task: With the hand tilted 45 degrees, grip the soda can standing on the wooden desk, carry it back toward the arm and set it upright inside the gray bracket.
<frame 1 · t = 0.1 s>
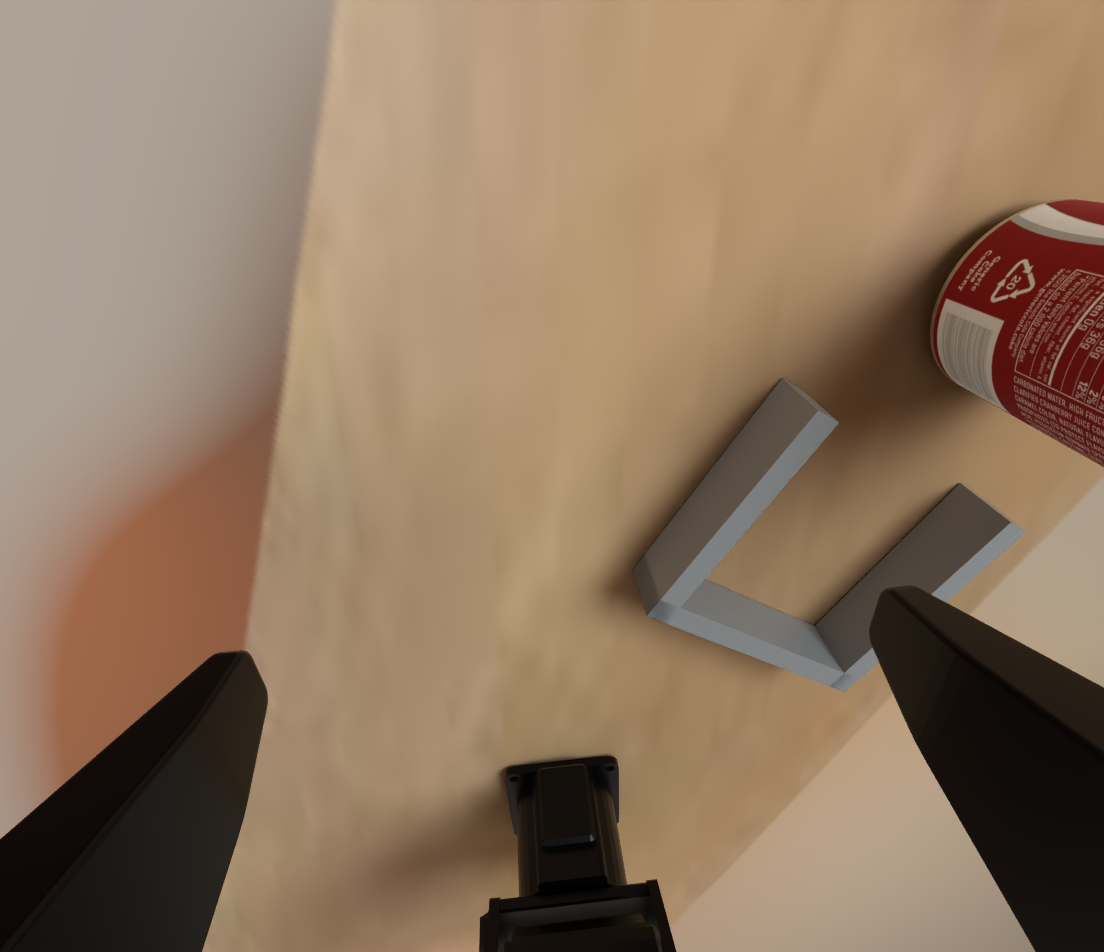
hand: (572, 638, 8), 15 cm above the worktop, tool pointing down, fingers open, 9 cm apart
gray bracket: (808, 522, 26), on the worktop
soda can: (1005, 296, 22), on the worktop
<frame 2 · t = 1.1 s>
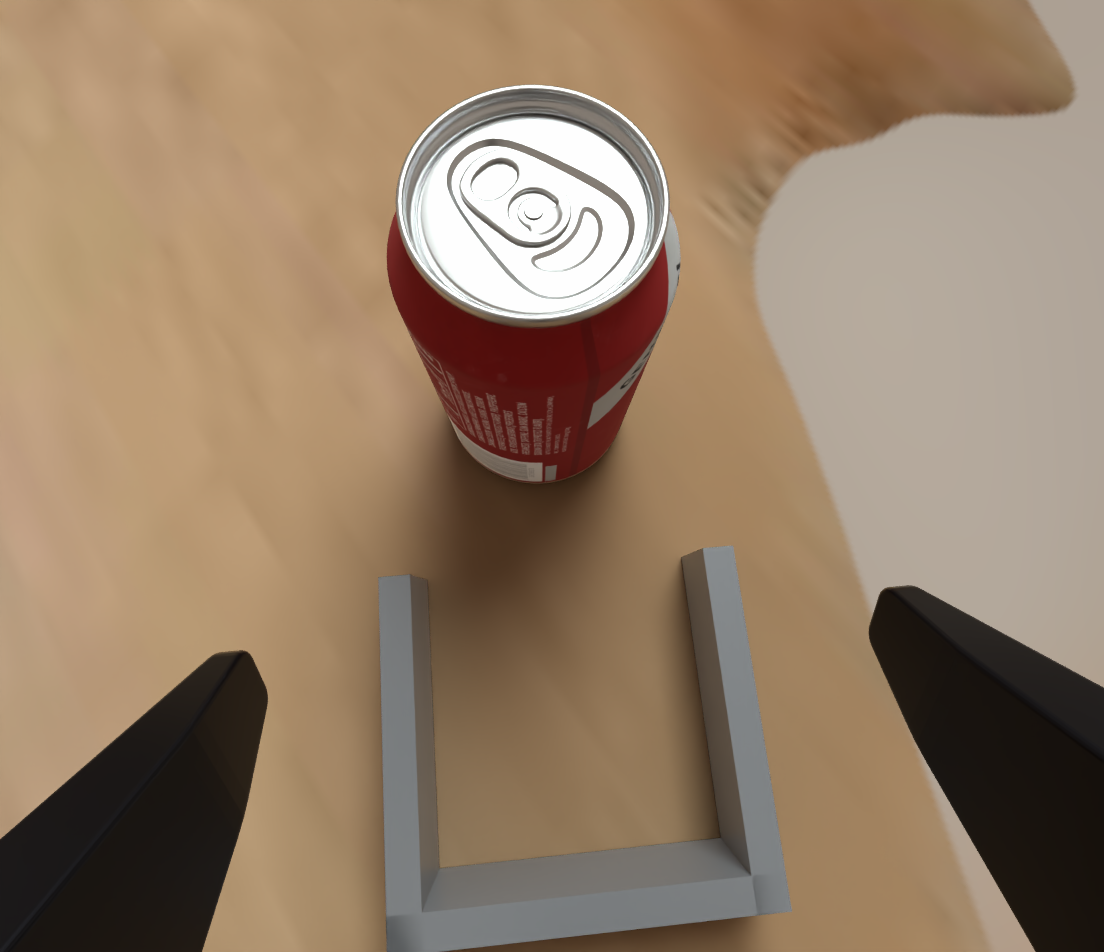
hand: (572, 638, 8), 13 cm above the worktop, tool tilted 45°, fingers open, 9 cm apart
gray bracket: (567, 703, 21), on the worktop
soda can: (537, 406, 24), on the worktop
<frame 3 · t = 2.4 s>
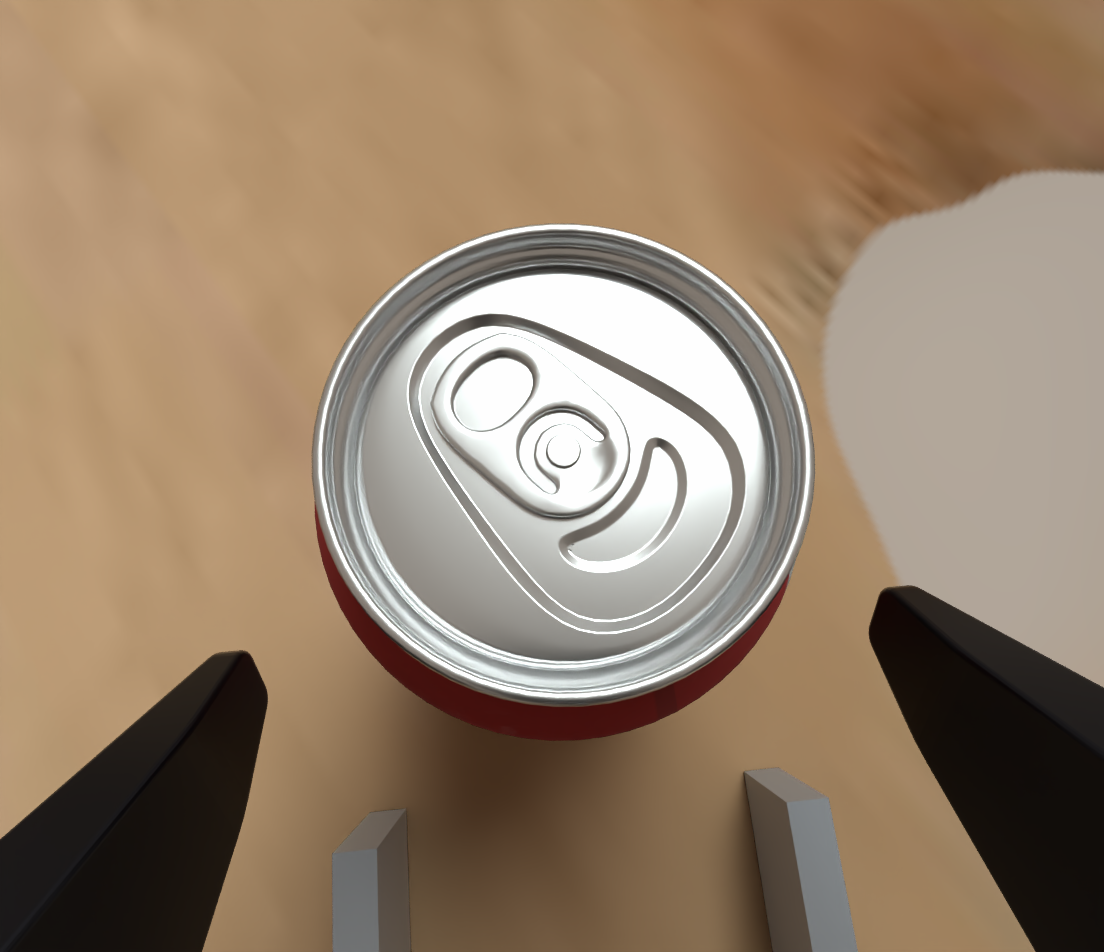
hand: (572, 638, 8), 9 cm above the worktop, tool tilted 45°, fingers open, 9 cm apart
soda can: (549, 559, 18), on the worktop
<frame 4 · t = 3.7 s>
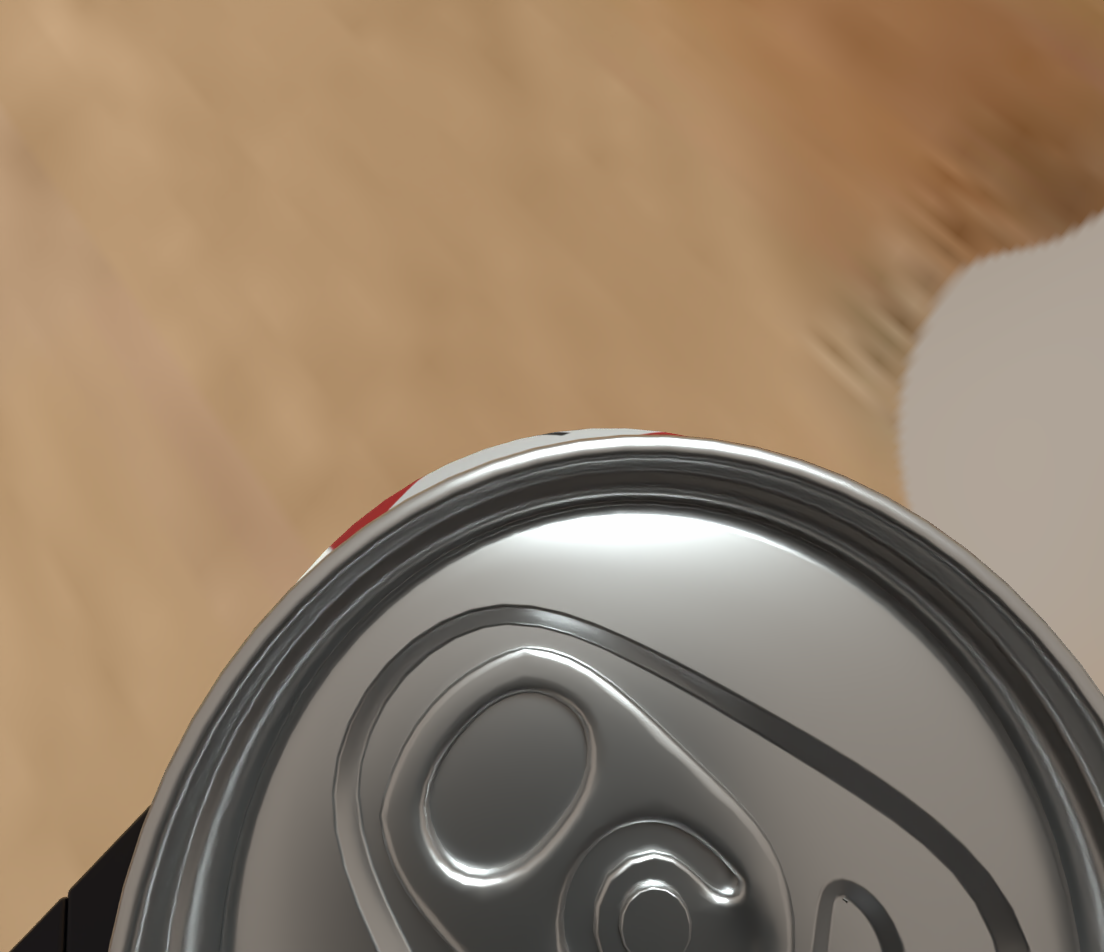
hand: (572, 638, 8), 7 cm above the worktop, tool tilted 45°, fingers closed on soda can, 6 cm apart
soda can: (566, 687, 15), on the worktop, touching gripper
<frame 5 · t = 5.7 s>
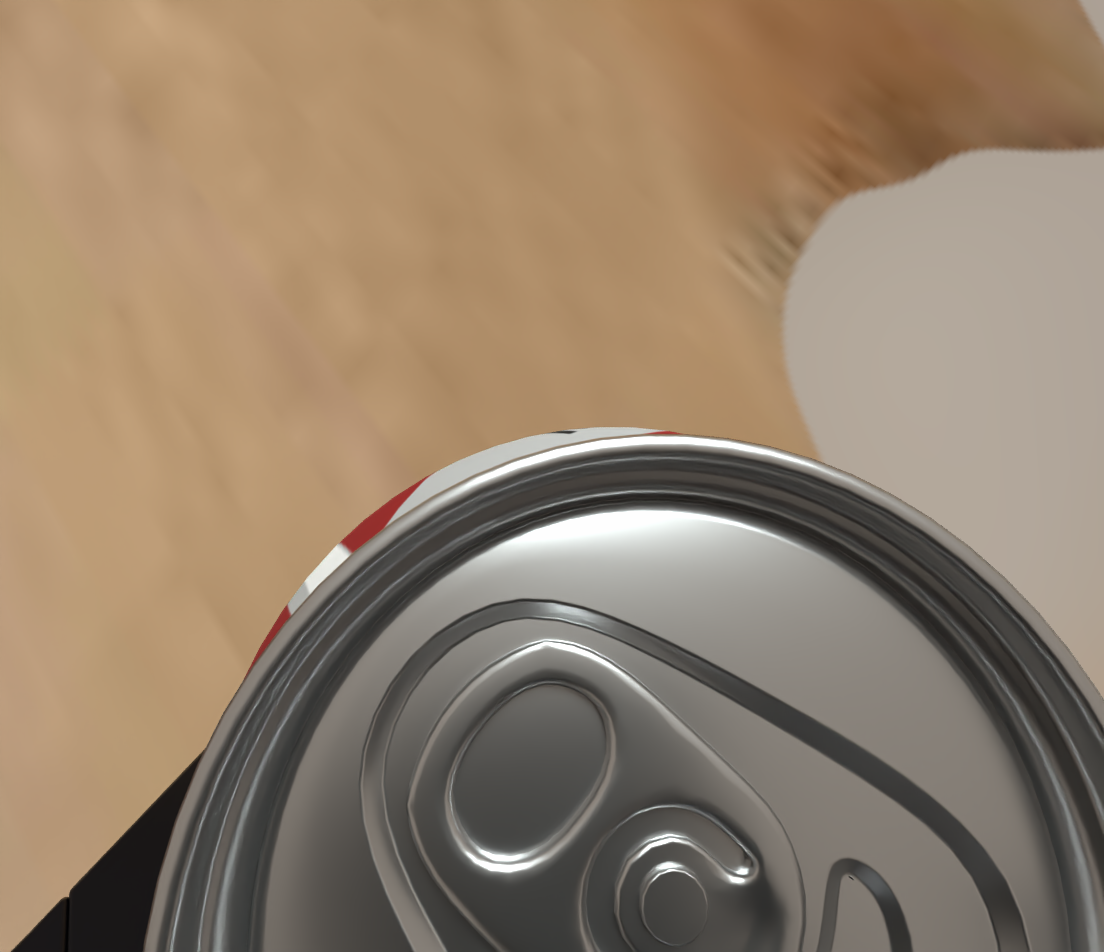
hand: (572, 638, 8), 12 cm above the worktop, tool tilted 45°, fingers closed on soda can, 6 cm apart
soda can: (553, 683, 15), point 5 cm above the worktop, touching gripper
when the fingers open (8 cm above the worktop, at t = 7.8 s): soda can drops 1 cm, on the worktop.
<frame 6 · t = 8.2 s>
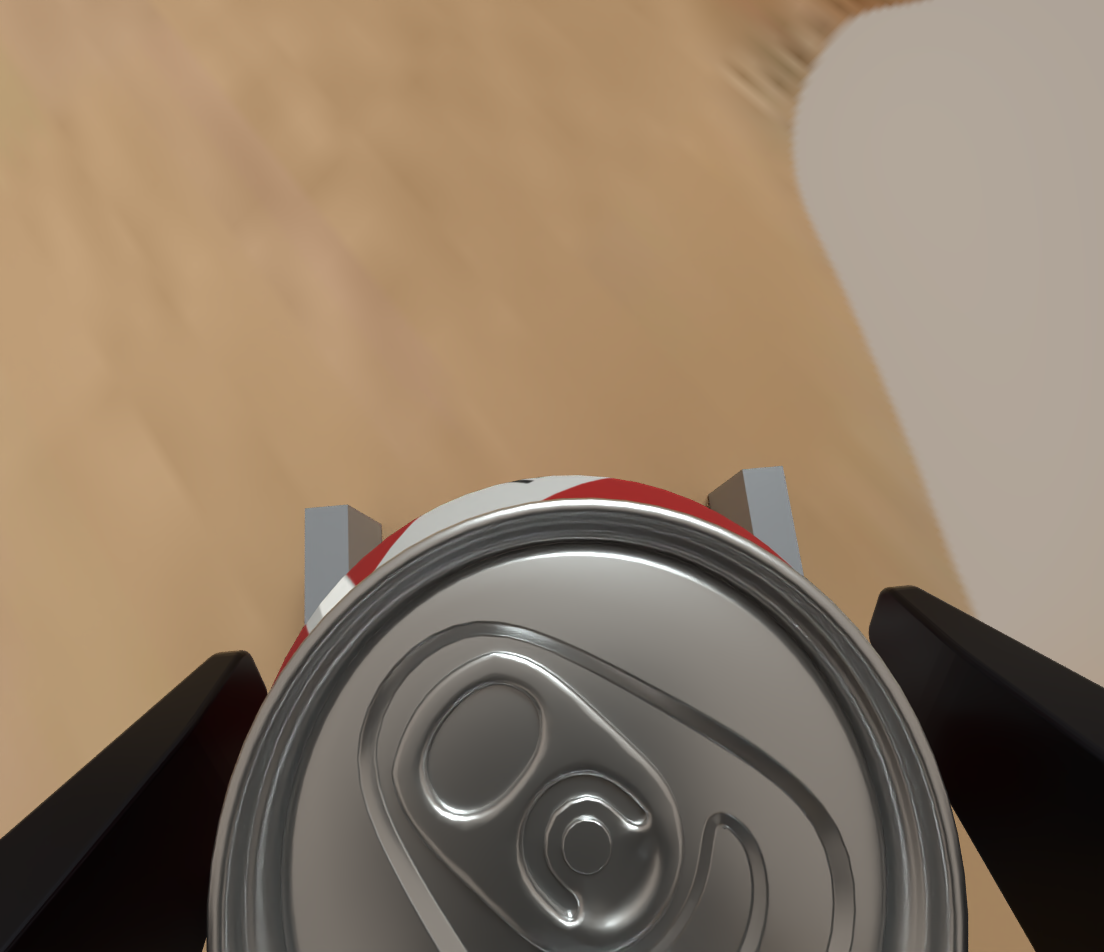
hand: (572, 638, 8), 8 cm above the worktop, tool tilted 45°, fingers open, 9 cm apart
gray bracket: (562, 681, 16), on the worktop
soda can: (553, 684, 16), on the worktop
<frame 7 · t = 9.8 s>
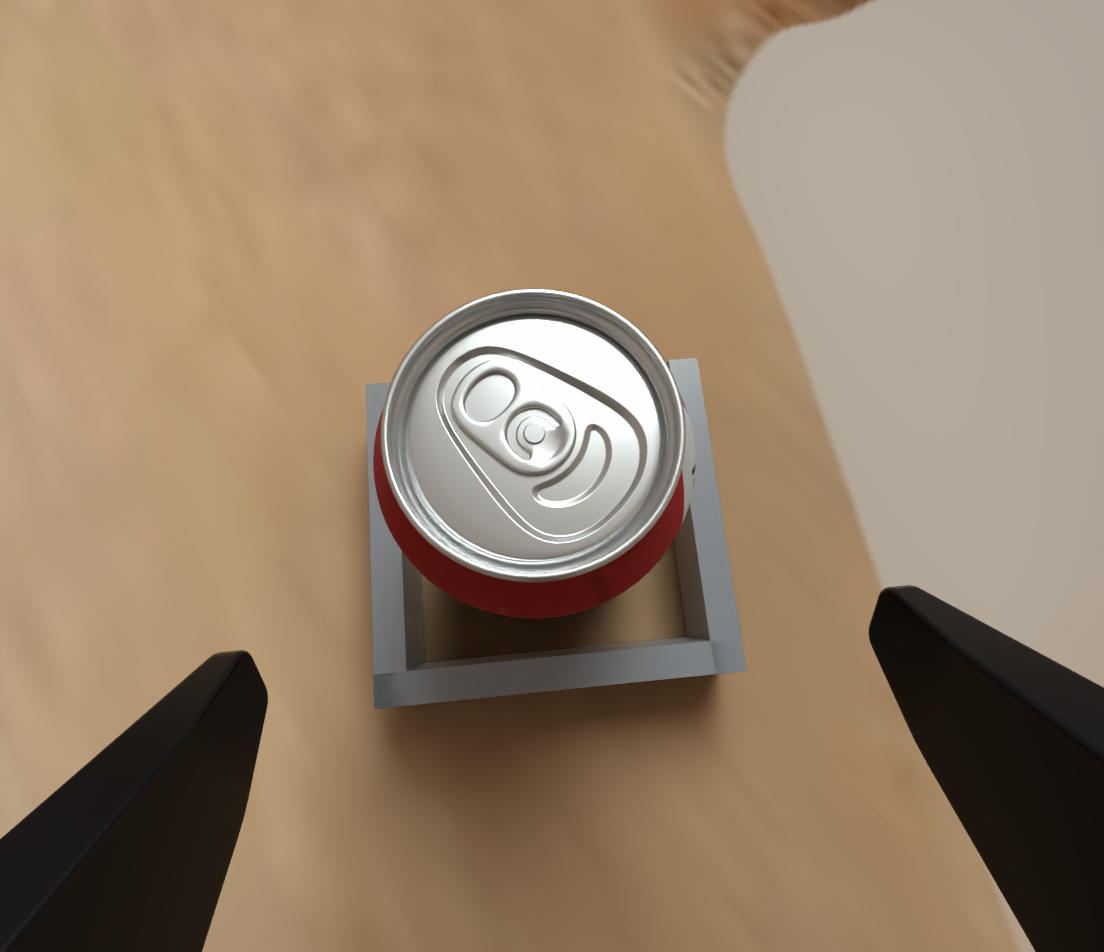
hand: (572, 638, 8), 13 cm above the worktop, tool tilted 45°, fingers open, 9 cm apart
gray bracket: (545, 519, 22), on the worktop
soda can: (538, 522, 22), on the worktop
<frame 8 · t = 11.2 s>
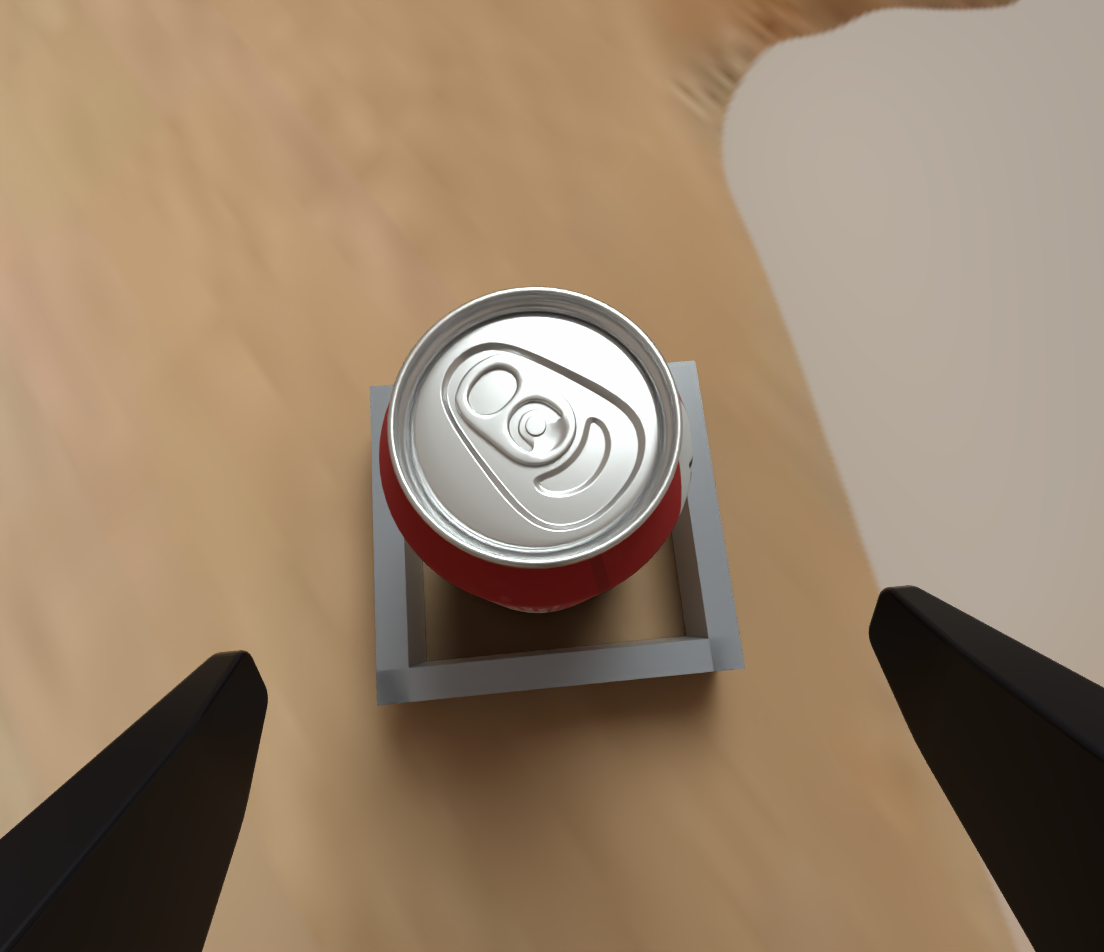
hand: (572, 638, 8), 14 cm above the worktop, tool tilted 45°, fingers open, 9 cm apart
gray bracket: (545, 520, 23), on the worktop
soda can: (539, 523, 23), on the worktop
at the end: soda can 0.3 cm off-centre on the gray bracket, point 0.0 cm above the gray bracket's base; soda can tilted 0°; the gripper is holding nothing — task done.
